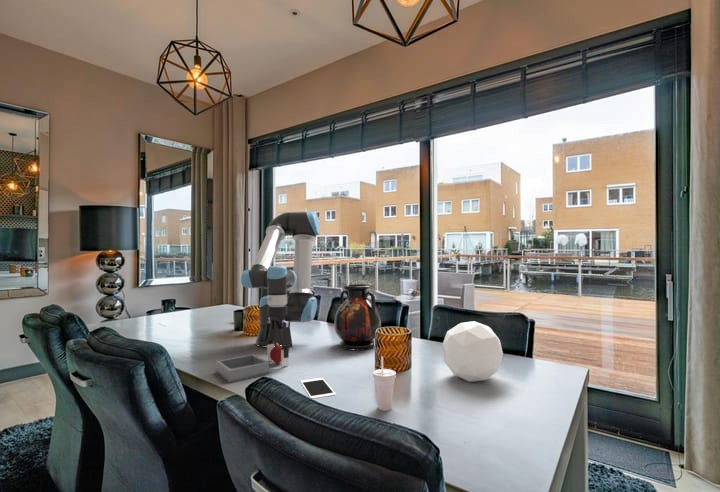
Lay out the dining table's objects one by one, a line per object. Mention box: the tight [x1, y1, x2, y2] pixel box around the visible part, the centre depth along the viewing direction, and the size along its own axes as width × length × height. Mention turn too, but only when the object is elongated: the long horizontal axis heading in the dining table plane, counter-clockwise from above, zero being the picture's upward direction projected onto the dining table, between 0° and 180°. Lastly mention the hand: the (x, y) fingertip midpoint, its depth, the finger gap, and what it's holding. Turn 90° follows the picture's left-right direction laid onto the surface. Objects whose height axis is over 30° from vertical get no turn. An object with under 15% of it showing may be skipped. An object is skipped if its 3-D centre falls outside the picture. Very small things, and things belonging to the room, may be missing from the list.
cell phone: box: [300, 377, 337, 400], centre depth 116 cm, size 8×16×1 cm, turn 21°
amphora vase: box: [333, 283, 382, 351], centre depth 167 cm, size 22×22×28 cm
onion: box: [270, 343, 282, 365], centre depth 141 cm, size 6×6×8 cm
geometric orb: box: [441, 320, 504, 383], centre depth 122 cm, size 19×20×20 cm
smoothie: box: [372, 356, 397, 412], centre depth 100 cm, size 6×6×14 cm
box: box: [215, 354, 270, 384], centre depth 131 cm, size 14×14×4 cm
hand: (277, 363), depth 141 cm, fingers open, 9 cm apart
